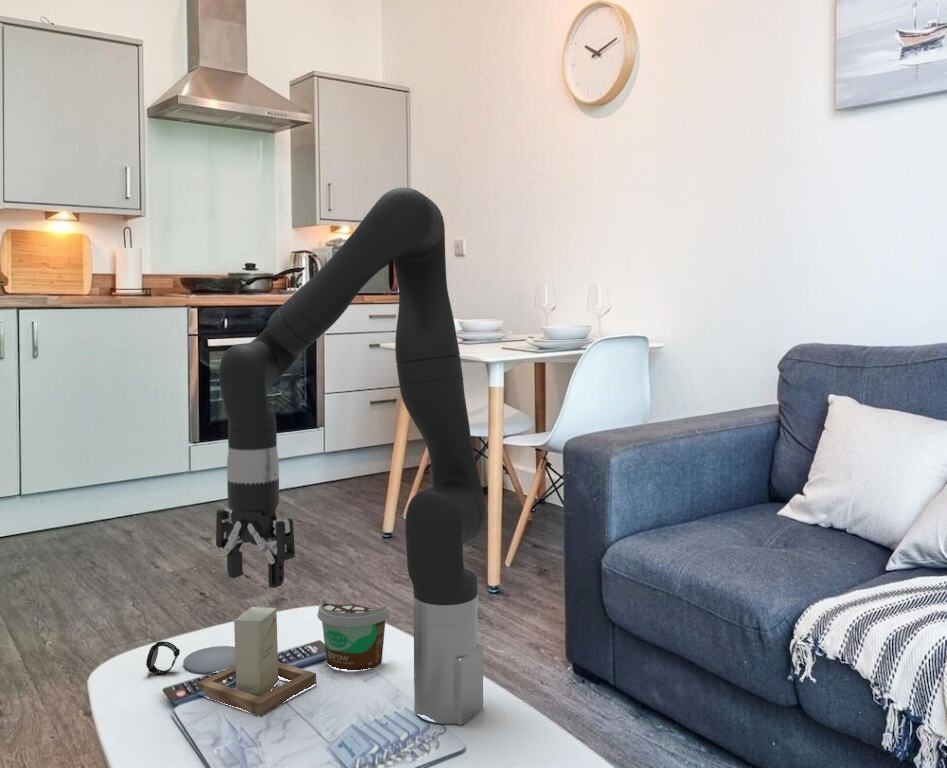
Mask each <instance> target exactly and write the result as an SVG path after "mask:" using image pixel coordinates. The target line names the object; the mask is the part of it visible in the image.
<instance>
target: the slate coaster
mask: <svg viewBox="0 0 947 768" xmlns="http://www.w3.org/2000/svg"><path fill="white" fill-rule="evenodd" d="M234 665H236V662H235V646H230V645H217V646H210V647H205V648H201V649H198V650H195V651H193V652H191V653H189V654H188V655H187V656H185V657H184V658H183V668H184V670H186V671H188V672H189V673H192V674H197V675H211V674H210V673H213V672H216V671H220V670H223V669H227V668H230V667H232V666H234Z"/></svg>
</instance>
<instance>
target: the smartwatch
mask: <svg viewBox="0 0 947 768" xmlns="http://www.w3.org/2000/svg"><path fill="white" fill-rule="evenodd" d="M160 647H166V648H168V649H170V650H171V651H172V652H173V656H174V658H173V661H172V663H171V666H170V667H169V668H168V669H166V670H163V669H162V670H161V669H158V667H156V665H155V664H156V663H157V658H158V655H159V648H160ZM180 651H181V649H180V648H178V647H177V646H176V645H175V644H173V643H172V642H169V641H163V640H162V641H157V642H155V644H154V645H152V646H151V647H150V648H149V651H148V654H147V657H146V663H145V664H146V668H147V671H148V672H149V673H151V674H153V675H156V676H165V675H167V674H168V673H169V672H171V670H172V669H173V667H174V665H175V663H176V660H177V659H178V657H179V656H180Z"/></svg>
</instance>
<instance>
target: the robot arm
mask: <svg viewBox="0 0 947 768" xmlns="http://www.w3.org/2000/svg"><path fill="white" fill-rule="evenodd" d="M445 229H446V228H445V221H444V216H443V214H442V211H441V210H440V208H439V207H438V205H437V204H436V203H435V202H434V201H433V200H432V199H430V198H429V197H428V196H426V195H425V194H424V193H422V192H421V191H419V190H416V189H414V188H411V187H405V186H404V187H396V188H394V189H391V190H389V191H387V192H385V193H384V194H383V195H382V196H381V197H380V198H379V199H378V200H377V201H376V202H375V204H374V205H373V206H372V207H371V209H370V210H369V211H368V213H366V215H365V217H364V218H363V219H362V220H361V222H360V223H359V225H358V226H356V228H355V229H354V231H353V232H352V233H351V235H350V236H349V237H347V239H346V241H344V243H343V244H342V245H341V246H340V247H339V248H338V250H336V252H335V253H334V254H333V255H332V256H331V258H330V259H329V260H327V262H326V263H325V264H324V265H323V266H322V267H321V268H320V269H319V270H318V271H317V272H316V273H315V274H314V275H313V276H312V277H311V278H310V279H309V280H308V281H307V282H306V283H305V284H303V285H302V286H301V287H300V288H299V289H298V290H297V291H295V293H294V294H292V295H291V296H290V297H289V298H288V299H287V300H285V302H284V303H283V304H282V305H281V306H279V308H277V309H276V310H275V311H274V312H273V314H272V315H271V316H270V317H269V319H268V320H267V321H268V322H267V326H266V328H264V329H263V331H262V332H261V333H260V334H259V335H258V336H256V337H255V338H254V339H253V340H251V341H250V342H245V343H239V344H235V345H233V346H231V347H229V348H228V349H227V350H226V351H225V352H224V353H223V355H222V357H221V358H220V359H221V360H220V363H219V367H218V368H219V369H218V380H219V381H218V382H219V386H220V387H219V388H220V391H221V396H222V401H223V405H224V408H225V412H226V415H227V420H228V421H227V422H228V423H227V438H228V439H227V440H228V441H227V443H228V444H227V445H228V450H227V460H226V474H227V475H226V477H227V479H226V480H227V481H226V483H227V506H228V507H226V508H225V507H224V508H222V509H218V510H217V511H216V518H215V519H216V522H215V523H216V524H215V525H216V526H215V532H216V533H215V545H216V547H217V548H218V549H221V548H222V549H223V550H224V553H225V554H226V562H227V563H226V565H227V566H226V569H227V572H228V573H227V574H228V578H231V579H236V578H239V577H241V576H242V575H243V569H244V568H243V551H241V550H242V548H243V546H244V545H245V543H250V544H252V545H254V546H257V547H258V549H259V550H260V552H263V553H264V554H265V557H266V558H267V561H268V564H267V570H268V575H267V576H268V577H267V578H268V580H267V581H268V587H269V588H273V589H276V588H278V587H281V586H282V585H283V584H284V581H285V561H287V560H288V561H289V560H290V559H293V558H295V556H296V550H295V549H296V548H295V534H294V532H295V531H294V521H293V518H291V517H289V518H285V519H280V518H279V519H278V517H277V514H276V510H277V508H278V506H279V505H280V465H279V464H280V461H279V455H278V453H279V452H278V442H277V441H278V440H277V439H278V438H277V436H278V435H277V433H278V431H277V416H276V413H275V411H274V409H272V408H271V407H269V404H268V397H267V387H269V386H271V385H273V384H274V383H275V382H277V381H278V380H279V379H280V378H281V377H282V376H283V375H284V374H285V373H286V372H287V371H288V370H289V369H290V368H291V366H292V365H293V364H294V363H295V361H296V360H297V359H298V358H299V356H300V355H301V354H302V352H304V351H305V350H307V348H309V347H310V346H311V345H313V344H314V343H315V342H316V341H317V340H318V339H319V338H320V337H321V336H322V335H324V333H325V332H327V331H328V330H329V329H330V328H331V327H332V326H333V325H335V324H336V322H337V321H338V320H339V319H340V318H341V316H342V315H343V314H344V313H345V312H346V310H347V308H348V307H349V306H350V305H351V304H352V302H353V301H354V299H355V298H356V296H357V295H358V294H359V292H360V291H361V290H362V288H363V287H364V286H365V285H366V284H367V283H368V282H369V281H370V280H371V279H372V278H373V277H374V276H375V275H376V274H378V273H379V272H380V271H381V270H383V269H384V268H385V267H387V266H388V265H389V264H391V263H393V266H394V271H395V272H394V273H395V276H396V281H397V286H398V287H397V288H398V289H397V290H398V298H399V299H398V311H397V312H398V313H397V321H396V330H395V345H394V347H395V349H394V350H395V363H396V370H397V376H398V378H397V379H398V386H399V391H400V396H401V399H402V402H403V404H404V406H405V409H406V410H407V412H408V415H409V416H410V418H411V419H412V421H413V423H414V424H415V426H416V428H417V430H418V431H419V433H420V435H421V437H422V438H423V440H424V443H425V445H426V449H427V451H428V456H429V460H430V468H431V475H432V486H431V487H428V488H425V489H422V490H420V491H418V492H417V493H416V494H414V496H413V497H412V498H411V499H410V501H409V503H408V505H407V508H406V509H407V510H406V512H405V513H406V514H405V521H404V523H405V526H404V527H405V529H404V530H405V546H406V548H405V549H406V564H407V565H406V567H407V571H408V572H407V573H408V577H409V579H410V581H411V584H412V587H413V588H412V589H413V592H412V593H413V689H414V690H413V695H414V697H413V698H414V700H413V701H414V706H413V707H414V713H415V715H416V714H420V715H425V716H427V717H429V718H430V719H433V720H434V721H436V722H437V723H436V724H441V725H442V724H443V725H445V724H449V725H450V724H455V725H459V726H462V725H463V724H465V723H466V722H467V721H468V720H470V719H471V718H473V717H474V716H475V715H477V714H478V713H479V712H481V711H483V709H484V647H483V645H481V644H479V643H478V577H477V575H476V574H475V573H474V572H473V571H471V570H470V569H467V568H465V566H464V565H465V564H464V547H463V545H465V544H466V543H469V542H471V541H472V540H474V539H475V538H476V537H478V536H479V535H480V533H482V531H483V529H484V527H485V525H486V520H487V505H486V499H485V493H484V489H483V485H482V482H481V477H480V474H479V469H478V465H477V460H476V457H475V453H474V448H473V444H472V437H471V430H470V422H469V415H468V407H467V403H466V402H467V401H466V396H465V395H466V394H465V386H464V385H465V384H464V376H463V368H462V367H463V366H462V361H461V356H460V355H461V353H460V347H459V341H458V338H457V337H458V336H457V331H456V324H455V319H454V315H453V311H452V306H451V305H452V304H451V300H450V296H449V290H448V282H447V267H446V260H447V259H446V234H445V233H446V230H445ZM224 536H225V537H224ZM270 540H271V541H270Z"/></svg>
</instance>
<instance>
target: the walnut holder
mask: <svg viewBox="0 0 947 768" xmlns="http://www.w3.org/2000/svg"><path fill="white" fill-rule="evenodd" d="M234 674H236V665H234V666H232V667H230V668H228V669H226V670H223V671H221V672H219V673H217V674H212V675H210V676H209V677H207V678H204V679H202V680H200V681H197V683H196V685H197V686H196V687H197V688H199V689H201V690H204V692H205V693H206V695H207V697H209V698H210V699H213V700H216V701H219V702H222V703H225V704H228V705H231V706H234V707H238V708H241V709H243V710H246V711H248V712H250V713H252V714H255V715H258V716H260V717H262V716H263V715H262V714H264V715H265V714H267V713H269V712H271V711H273V710H275V709H276V708H278V707H279V706H278V705H280V704H282V703H283V702H284V701H286V700H287V699H289V698H290V697H292V696H293V695H296V694H298V693H299V692H301V691H303V690H304V689H307V688H309V687H311V686H312V685H314V684H316V685H317V673H316V672H313V671H310V670H307V669H303V668H301V667H300V668H299V667H298V666H297V667H296V666H294V665H289V664H288V663H285V662H284V663H283V662H280V661H278V676H280V677H283V678H285V679H288V680H291V681H289V682H285V683H283V684H281V685H279V686H278V687H277V686H276V687H275V688H274V689H273V690H272V691H270V692H268V693H266V694H264V695H262V696H260V697H258V696H255V695H252V694H249V693H246V692H243V691H240V690H237V689H236V688H233V687H231V686H225V685H222V684H219V682H221V681H223V680H225V679H226V678H228V677H230V676H232V675H234ZM282 705H283V704H282ZM277 706H278V707H277ZM280 706H281V705H280ZM275 707H276V708H275ZM274 708H275V709H274ZM272 709H273V710H272ZM270 710H271V711H270ZM268 711H269V712H268ZM266 712H267V713H266ZM252 714H251V715H252ZM255 715H254V716H255ZM261 715H262V716H261ZM258 716H257V717H258Z"/></svg>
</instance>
